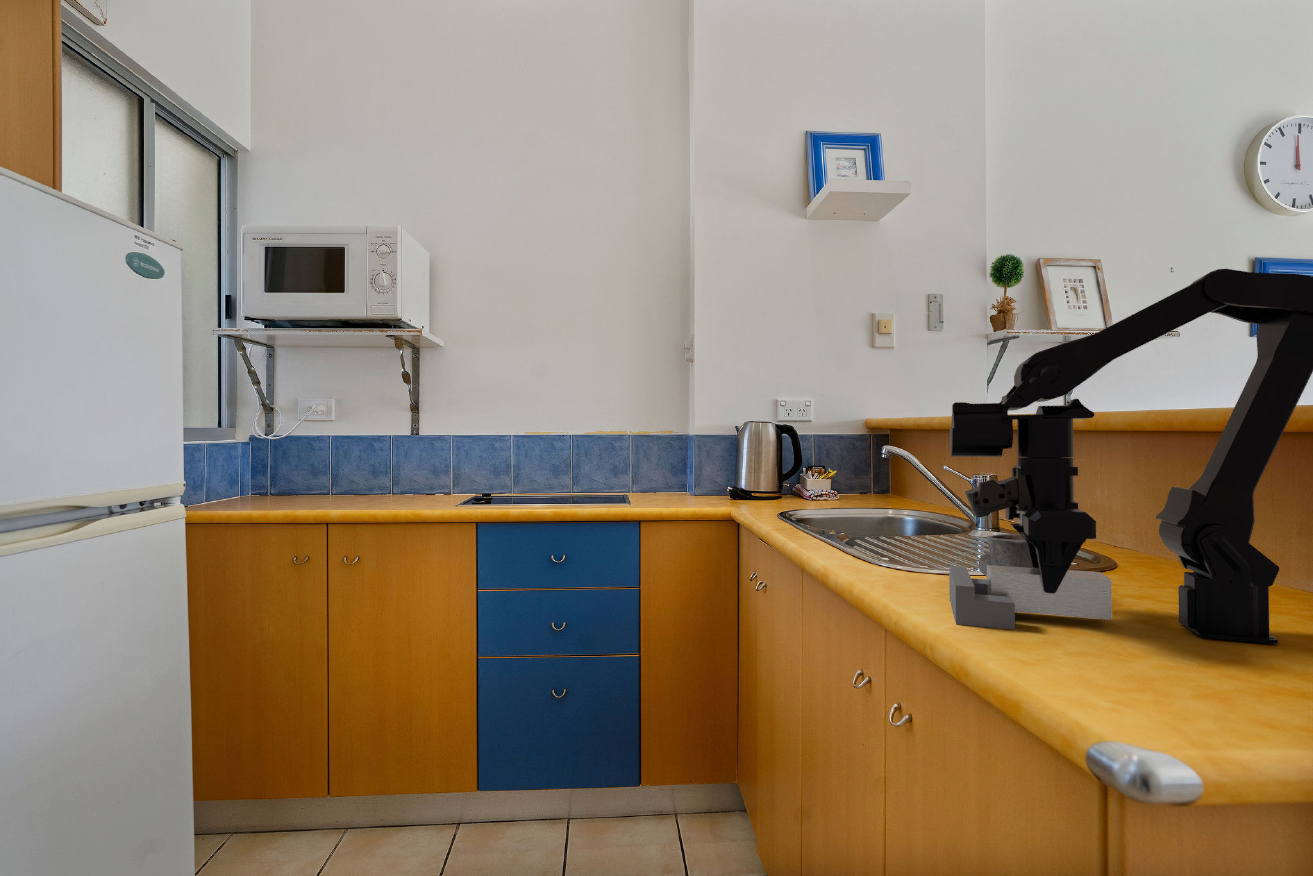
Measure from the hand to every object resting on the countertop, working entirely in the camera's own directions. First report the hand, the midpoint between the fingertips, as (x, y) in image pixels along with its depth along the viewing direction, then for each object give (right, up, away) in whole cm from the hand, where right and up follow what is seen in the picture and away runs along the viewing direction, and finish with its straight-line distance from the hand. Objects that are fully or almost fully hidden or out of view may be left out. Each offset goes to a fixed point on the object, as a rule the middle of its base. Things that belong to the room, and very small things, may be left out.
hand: (1045, 588), depth 75 cm
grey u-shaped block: (-7, -4, +3) cm, 8 cm away
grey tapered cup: (+4, -4, +16) cm, 17 cm away
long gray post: (0, -3, 0) cm, 2 cm away
